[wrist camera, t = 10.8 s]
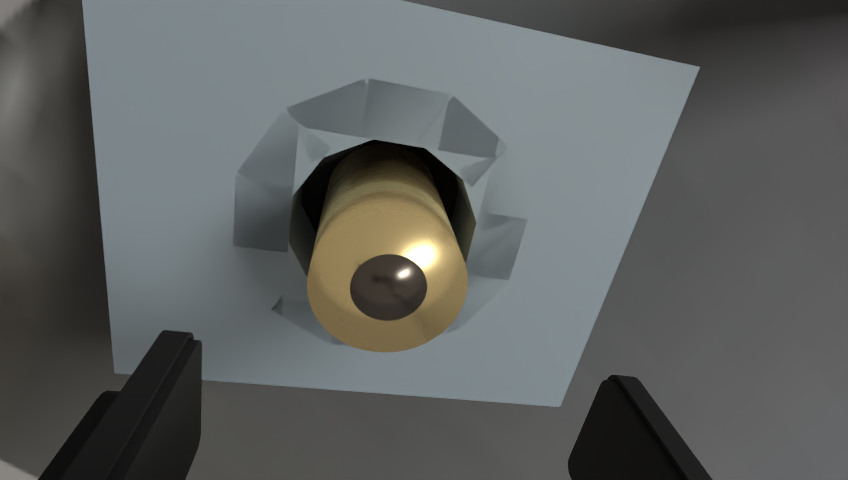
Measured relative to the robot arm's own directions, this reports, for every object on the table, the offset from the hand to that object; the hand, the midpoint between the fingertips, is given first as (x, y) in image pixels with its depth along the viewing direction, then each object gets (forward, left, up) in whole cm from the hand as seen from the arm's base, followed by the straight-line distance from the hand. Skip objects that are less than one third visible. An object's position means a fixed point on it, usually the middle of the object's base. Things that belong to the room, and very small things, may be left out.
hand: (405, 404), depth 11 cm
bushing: (0, 0, -13) cm, 13 cm away
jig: (0, 0, -13) cm, 13 cm away
